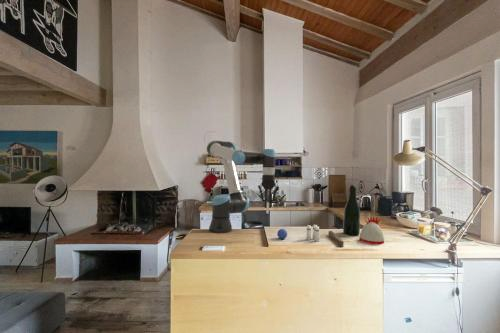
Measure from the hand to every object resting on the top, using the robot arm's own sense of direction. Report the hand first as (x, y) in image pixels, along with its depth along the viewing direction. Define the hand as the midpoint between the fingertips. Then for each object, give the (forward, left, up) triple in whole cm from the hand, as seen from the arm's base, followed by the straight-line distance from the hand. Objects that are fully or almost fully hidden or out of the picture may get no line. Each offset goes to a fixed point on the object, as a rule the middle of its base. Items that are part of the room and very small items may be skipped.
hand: (267, 213), depth 167 cm
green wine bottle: (+28, +54, -16) cm, 62 cm away
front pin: (+18, +18, -15) cm, 30 cm away
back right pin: (+23, +19, -15) cm, 33 cm away
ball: (+6, +7, -12) cm, 15 cm away
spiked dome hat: (+44, +48, -16) cm, 66 cm away
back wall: (+29, +30, -15) cm, 44 cm away
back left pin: (+19, +23, -15) cm, 33 cm away
